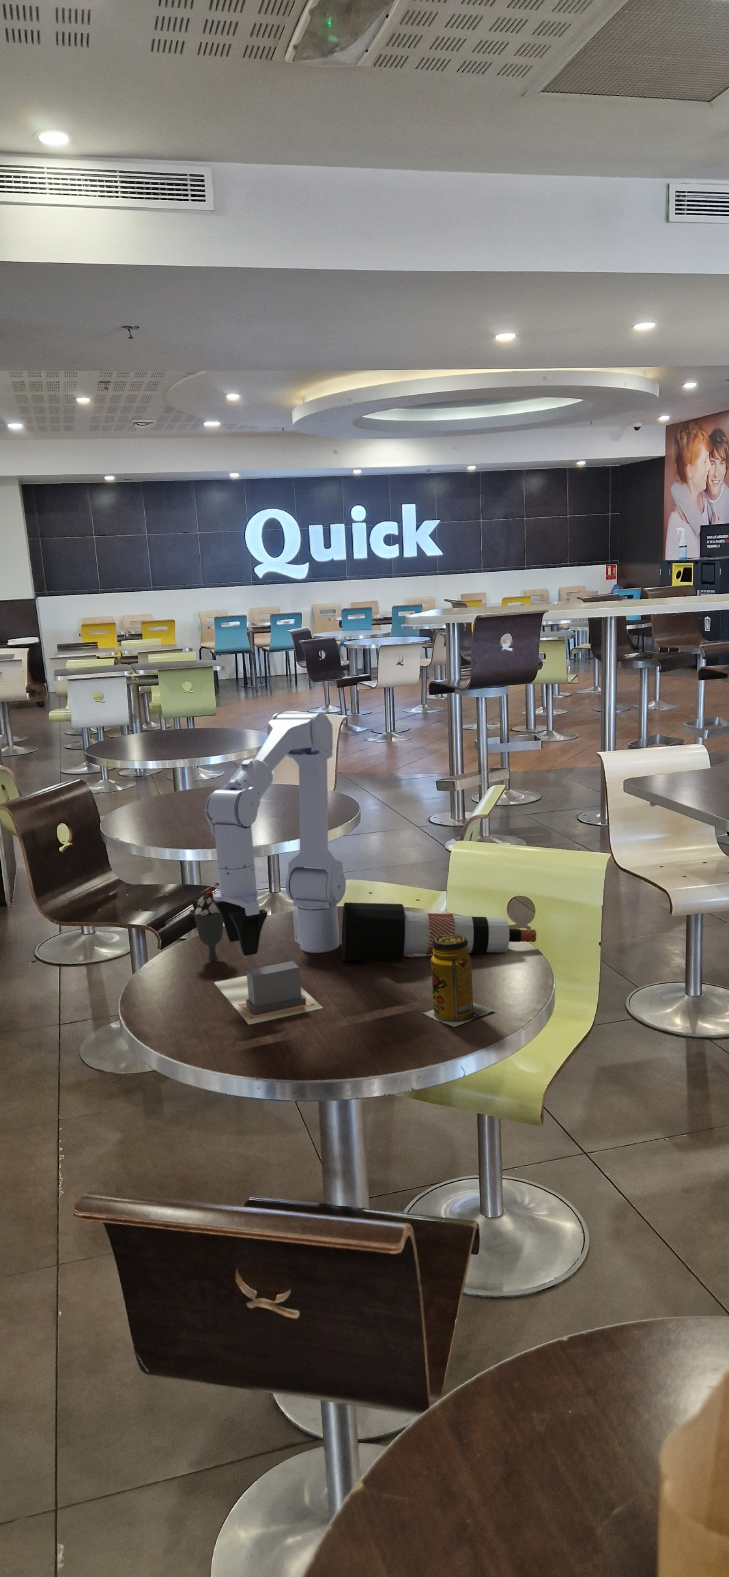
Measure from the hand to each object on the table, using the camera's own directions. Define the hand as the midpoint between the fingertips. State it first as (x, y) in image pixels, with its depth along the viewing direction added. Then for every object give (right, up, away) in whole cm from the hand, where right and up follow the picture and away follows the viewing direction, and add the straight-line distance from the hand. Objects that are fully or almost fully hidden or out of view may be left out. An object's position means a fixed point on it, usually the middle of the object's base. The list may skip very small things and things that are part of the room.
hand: (243, 947), depth 161 cm
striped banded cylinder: (+33, -5, +18) cm, 38 cm away
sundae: (-8, -6, +21) cm, 23 cm away
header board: (+4, -9, +2) cm, 10 cm away
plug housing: (+5, -8, -3) cm, 10 cm away
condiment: (+34, -9, -7) cm, 36 cm away
